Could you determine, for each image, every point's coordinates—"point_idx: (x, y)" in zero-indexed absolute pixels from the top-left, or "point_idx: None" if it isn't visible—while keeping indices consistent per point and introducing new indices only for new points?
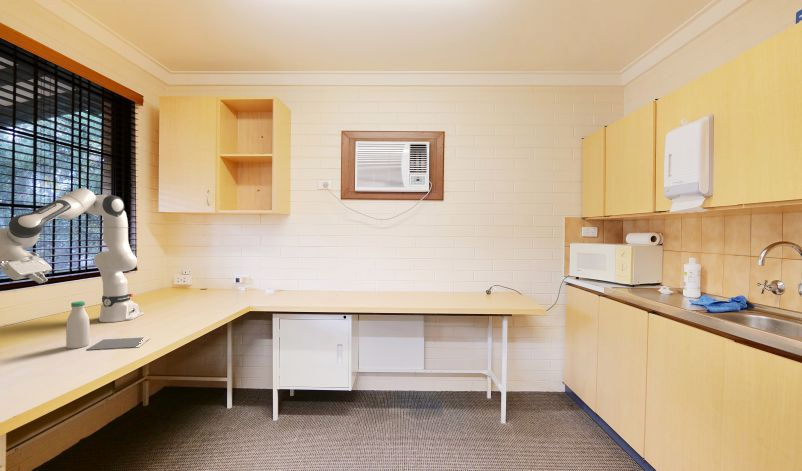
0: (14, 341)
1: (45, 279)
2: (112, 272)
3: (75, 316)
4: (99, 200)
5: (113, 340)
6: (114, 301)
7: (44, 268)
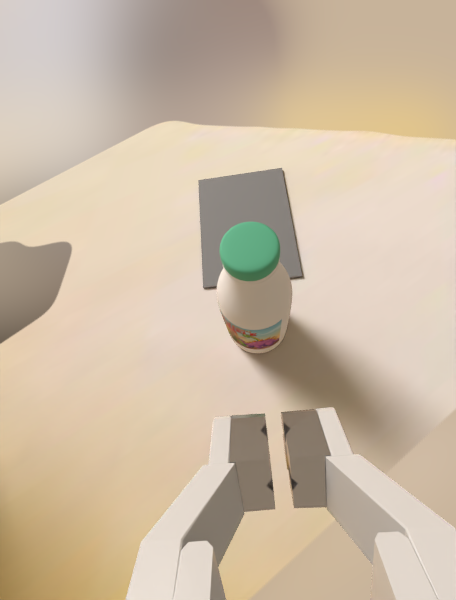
0: None
1: (258, 418)
2: None
3: (284, 270)
4: None
5: (218, 254)
6: None
7: None
